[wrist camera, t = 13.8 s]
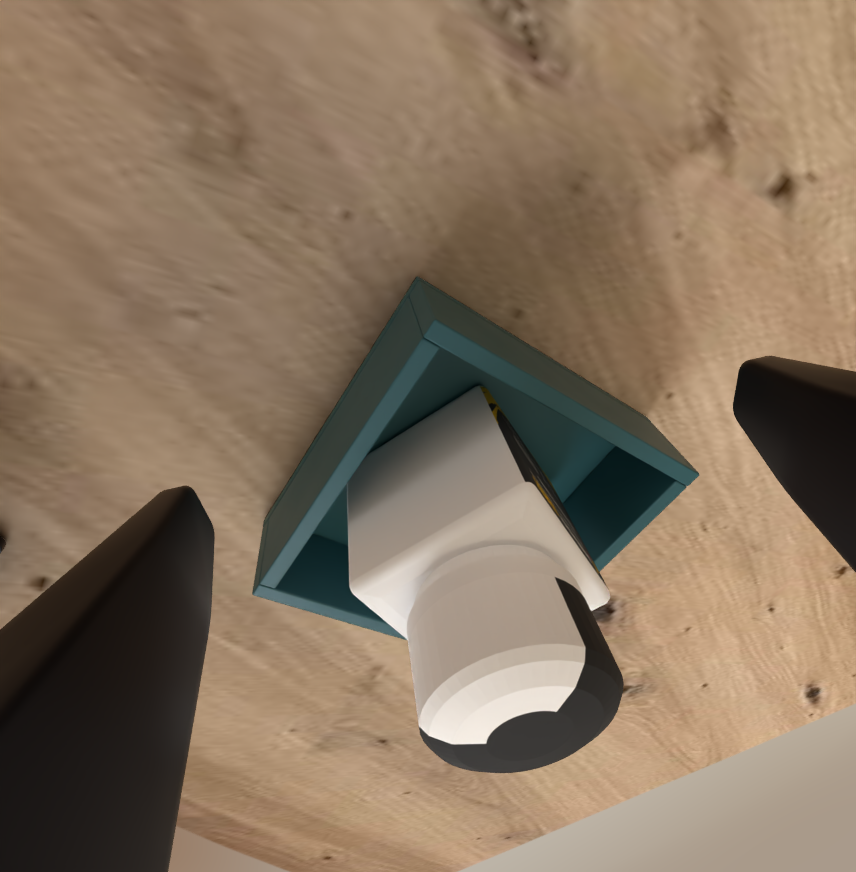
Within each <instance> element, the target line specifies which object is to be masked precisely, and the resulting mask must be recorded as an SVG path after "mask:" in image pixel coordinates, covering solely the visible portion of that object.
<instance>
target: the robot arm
mask: <svg viewBox="0 0 856 872" xmlns="http://www.w3.org/2000/svg"><path fill="white" fill-rule="evenodd" d="M733 411H734V415H735V417H736V419H737V421H738V423H739V424H740V426H741V427H742V429H743V430H744V431H745V433H746V434H747V436H748V437H749V439H750V440H751V442H752V443H753V445H754V446H755V447H756V449H757V450H758V452H759V453H760V455H761V456H762V458H763V459H764V461H765V462H766V464H767V465H768V466H769V468H770V469H771V471H772V472H773V474H774V475H775V477H776V478H777V479H778V481H779V482H780V484H781V485H782V486H783V488H784V489H785V490H786V492H787V493H788V494H789V495H790V496H791V498H792V499H793V500H794V501H795V503H796V504H797V505H798V506H799V507H800V508H801V509H802V511H803V512H804V513H805V514H806V515H807V516H808V518H809V519H810V520H811V521H812V522H813V523H814V525H815V526H816V527H817V528H818V529H819V530H820V532H821V533H822V534H823V535H824V536H825V537H826V539H827V540H828V541H829V542H830V543H831V544H832V545H833V547H834V548H835V549H836V550H837V551H838V552H839V554H840V555H841V556H842V557H843V558H844V559H845V561H846V562H847V563H848V564H849V565H850V566H851V568H852V569H853V570H854V571H855V572H856V372H854V371H849V370H843V369H838V368H833V367H828V366H822V365H817V364H812V363H807V362H801V361H796V360H791V359H786V358H780V357H775V356H765V357H761V358H756V359H752V360H748V361H745V362H744V363H743V364H742V365H741V367H740V369H739V373H738V379H737V385H736V390H735V396H734V402H733ZM5 545H6V541H5V540H4V538H3V537H1V536H0V553H1V552H2V550H3V549H4V547H5ZM213 560H214V529H213V525H212V523H211V521H210V519H209V517H208V515H207V513H206V511H205V510H204V508H203V506H202V504H201V502H200V500H199V498H198V496H197V495H196V493H195V491H194V490H193V489H192V488H191V487H189V486H181V487H177V488H172V489H168V490H164V491H162V492H160V493H159V494H158V495H157V496H156V497H154V498H153V499H152V500H151V501H150V502H149V503H147V504H146V505H145V506H144V507H143V508H142V509H140V510H139V511H138V512H137V513H136V514H135V515H133V516H132V517H131V518H130V519H129V520H128V521H126V522H125V523H124V524H123V525H122V526H121V527H119V528H118V529H117V530H116V531H115V532H114V533H112V534H111V535H110V536H109V537H108V538H107V539H105V540H104V541H103V542H102V543H101V544H100V545H98V546H97V547H96V548H95V549H94V550H93V551H91V552H90V553H89V554H88V555H87V556H86V557H84V558H83V559H82V560H81V561H80V562H79V563H77V564H76V565H75V566H74V567H73V568H72V569H70V570H69V571H68V572H67V573H66V574H65V575H63V576H62V577H61V578H60V579H59V580H58V581H56V582H55V583H54V584H53V585H52V586H51V587H49V588H48V589H47V590H46V591H45V592H44V593H42V594H41V595H40V596H39V597H38V598H37V599H35V600H34V601H33V602H32V603H31V604H30V605H28V606H27V607H26V608H25V609H24V610H23V611H21V612H20V613H19V614H18V615H17V616H16V617H14V618H13V619H12V620H11V621H10V622H9V623H7V624H6V625H5V626H4V627H3V628H2V629H0V872H168V869H169V863H170V857H171V850H172V845H173V839H174V833H175V827H176V822H177V816H178V810H179V804H180V798H181V792H182V786H183V780H184V775H185V769H186V763H187V757H188V751H189V745H190V739H191V734H192V728H193V722H194V716H195V710H196V704H197V698H198V692H199V687H200V681H201V675H202V669H203V663H204V657H205V651H206V645H207V640H208V633H209V626H210V617H211V603H212V581H213Z"/></svg>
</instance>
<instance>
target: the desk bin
mask: <svg viewBox="0 0 856 872" xmlns="http://www.w3.org/2000/svg"><path fill="white" fill-rule="evenodd" d="M478 385H480V386H484V387H485V388H486V389H488V391H489V392H490V394H491V395H492V397H493V398H494V400H495V401H496V403H497V404H498V406H499V407H500V409H501V410H502V412H503V413H504V414H505V416H506V417H507V419H508V420H509V422H510V423H511V425H512V426H513V428H514V429H515V431H516V432H517V434H518V435H519V437H520V438H521V440H522V441H523V442H524V444H525V445H526V447H527V448H528V450H529V451H530V453H531V454H532V456H533V457H534V459H535V460H536V462H537V463H538V465H539V466H540V468H541V469H542V470H543V472H544V473H545V475H546V476H547V478H548V479H549V481H550V482H551V484H552V485H553V487H554V489H555V491H556V493H557V495H558V496H559V498H560V500H561V502H562V504H563V506H564V508H565V509H566V511H567V513H568V515H569V517H570V519H571V521H572V522H573V524H574V526H575V528H576V530H577V532H578V534H579V535H580V537H581V539H582V541H583V543H584V545H585V547H586V548H587V550H588V552H589V554H590V556H591V558H592V560H593V562H594V563H595V565H596V567H597V569H598V571H599V572H600V571H601V570H602V569H603V568H604V567H605V566H606V565H607V564H608V563H609V562H610V561H611V560H612V559H613V558H614V557H615V556H616V555H617V554H618V553H619V552H620V551H621V550H622V549H623V548H624V547H625V546H626V545H628V544H629V543H630V542H631V541H632V540H633V539H634V538H635V537H636V536H637V535H638V534H639V533H640V532H641V531H642V530H643V529H644V528H645V527H646V526H647V525H648V524H649V523H650V522H651V521H652V520H653V519H654V518H655V517H656V516H657V515H659V514H660V513H661V512H662V511H663V510H664V509H665V508H666V507H667V506H668V505H669V504H670V503H671V502H672V501H673V500H674V499H675V498H676V497H677V496H678V495H679V494H680V493H681V492H682V491H683V490H684V489H685V488H686V486H688V485H690V484H691V483H692V482H693V481H694V480H695V479H696V478H697V477H698V476H699V473H698V472H697V471H696V470H695V469H694V468H693V466H692V465H691V464H690V463H689V462H688V461H687V460H686V459H685V458H684V457H683V456H682V455H681V454H680V453H679V451H678V450H677V449H676V448H675V447H674V446H673V445H672V444H671V443H670V442H669V441H668V440H667V439H666V437H665V436H664V435H663V434H662V433H661V432H660V431H659V430H658V429H657V428H656V427H655V426H654V425H653V424H652V423H651V421H650V420H649V419H648V418H647V417H645V416H644V415H642V414H641V413H639V412H637V411H636V410H634V409H632V408H631V407H629V406H628V405H626V404H624V403H623V402H621V401H619V400H618V399H616V398H615V397H613V396H611V395H610V394H608V393H606V392H605V391H603V390H602V389H600V388H598V387H597V386H595V385H593V384H592V383H590V382H589V381H587V380H585V379H584V378H582V377H580V376H579V375H577V374H576V373H574V372H572V371H571V370H569V369H567V368H566V367H564V366H563V365H561V364H559V363H558V362H556V361H554V360H553V359H551V358H550V357H548V356H546V355H545V354H543V353H541V352H540V351H538V350H537V349H535V348H533V347H532V346H530V345H529V344H527V343H525V342H524V341H522V340H520V339H519V338H517V337H516V336H514V335H512V334H511V333H509V332H507V331H506V330H504V329H503V328H501V327H499V326H498V325H496V324H494V323H493V322H491V321H490V320H488V319H486V318H485V317H483V316H481V315H480V314H478V313H477V312H475V311H473V310H472V309H470V308H468V307H467V306H465V305H464V304H462V303H460V302H459V301H457V300H455V299H454V298H452V297H451V296H449V295H447V294H446V293H444V292H442V291H441V290H439V289H438V288H436V287H434V286H433V285H431V284H429V283H428V282H426V281H425V280H423V279H421V278H420V277H416V278H415V280H414V281H413V283H412V285H411V286H410V288H409V289H408V291H407V293H406V294H405V296H404V297H403V299H402V301H401V302H400V304H399V305H398V307H397V309H396V310H395V312H394V313H393V315H392V317H391V318H390V320H389V321H388V323H387V325H386V326H385V328H384V329H383V331H382V333H381V334H380V336H379V337H378V339H377V341H376V342H375V344H374V345H373V347H372V349H371V350H370V352H369V353H368V355H367V357H366V358H365V360H364V361H363V363H362V365H361V366H360V368H359V369H358V371H357V373H356V374H355V376H354V377H353V379H352V381H351V382H350V384H349V385H348V387H347V389H346V390H345V392H344V393H343V395H342V397H341V398H340V400H339V401H338V403H337V405H336V406H335V408H334V409H333V411H332V413H331V414H330V416H329V417H328V419H327V421H326V422H325V424H324V425H323V427H322V429H321V430H320V432H319V433H318V435H317V437H316V438H315V440H314V441H313V443H312V445H311V446H310V448H309V449H308V451H307V453H306V454H305V456H304V457H303V459H302V461H301V462H300V464H299V465H298V467H297V469H296V470H295V472H294V473H293V475H292V477H291V478H290V480H289V481H288V483H287V485H286V486H285V488H284V489H283V491H282V493H281V494H280V496H279V497H278V499H277V501H276V502H275V504H274V505H273V507H272V509H271V510H270V512H269V513H268V515H267V517H266V518H265V520H264V524H263V531H262V537H261V543H260V549H259V556H258V562H257V568H256V574H255V580H254V586H253V592H252V594H253V595H255V596H258V597H261V598H265V599H268V600H272V601H275V602H278V603H282V604H285V605H289V606H292V607H295V608H299V609H302V610H306V611H309V612H313V613H316V614H319V615H323V616H326V617H330V618H333V619H336V620H340V621H343V622H347V623H350V624H353V625H357V626H360V627H364V628H367V629H371V630H374V631H377V632H381V633H384V634H388V635H391V636H394V637H398V638H401V639H405V640H407V639H406V638H405V637H403V636H402V635H401V634H400V633H399V632H397V631H396V630H395V629H394V628H393V627H391V626H390V625H389V624H388V623H387V622H386V621H384V620H383V619H382V618H381V617H380V616H378V615H377V614H376V613H375V612H374V611H372V610H371V609H370V608H369V607H368V606H366V605H365V604H364V603H363V602H362V601H360V600H359V599H358V598H357V597H356V596H354V595H353V593H352V592H351V590H350V587H349V550H348V513H347V483H348V482H349V480H350V479H351V477H352V476H353V474H354V473H355V471H356V470H357V468H358V467H359V466H360V464H361V463H362V461H363V460H364V458H365V457H366V455H368V454H369V453H371V452H373V451H374V450H376V449H377V448H379V447H381V446H382V445H384V444H385V443H387V442H388V441H390V440H392V439H393V438H395V437H396V436H398V435H399V434H401V433H403V432H404V431H406V430H407V429H409V428H411V427H412V426H414V425H415V424H417V423H418V422H420V421H422V420H423V419H425V418H426V417H428V416H430V415H431V414H433V413H434V412H436V411H437V410H439V409H441V408H442V407H444V406H445V405H447V404H448V403H450V402H452V401H453V400H455V399H456V398H458V397H460V396H461V395H463V394H464V393H466V392H467V391H469V390H471V389H472V388H474V387H476V386H478Z"/></svg>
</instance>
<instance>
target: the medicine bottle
mask: <svg viewBox="0 0 856 872" xmlns="http://www.w3.org/2000/svg"><path fill="white" fill-rule="evenodd" d="M347 513H348V550H349V587H350V590H351V592H352V593H353V595H354V596H356V597H357V598H358V599H359V600H360V601H362V602H363V603H364V604H365V605H366V606H368V607H369V608H370V609H371V610H372V611H374V612H375V613H376V614H377V615H378V616H380V617H381V618H382V619H383V620H384V621H386V622H387V623H388V624H389V625H390V626H391V627H393V628H394V629H395V630H396V631H397V632H399V633H400V634H401V635H402V636H403V637H405V638H406V639H407V640H408V645H409V653H410V661H411V669H412V677H413V684H414V692H415V700H416V708H417V715H418V723H419V730H420V735H421V737H422V739H423V741H424V742H425V744H426V745H427V746H428V747H429V748H430V749H431V750H432V751H433V752H434V753H435V754H436V755H438V756H439V757H440V758H441V759H442V760H444V761H445V762H447V763H449V764H451V765H453V766H456V767H459V768H462V769H466V770H470V771H478V772H490V773H513V772H522V771H527V770H532V769H536V768H540V767H543V766H546V765H549V764H552V763H554V762H557V761H559V760H561V759H563V758H566V757H568V756H569V755H571V754H573V753H575V752H576V751H578V750H579V749H581V748H582V747H583V746H585V745H586V744H588V743H589V742H590V741H592V740H593V739H594V738H596V737H597V736H598V735H599V734H600V733H601V732H602V731H603V730H604V729H605V728H606V727H607V726H608V725H609V724H610V722H611V721H612V720H613V718H614V716H615V714H616V712H617V710H618V707H619V704H620V700H621V697H622V693H623V677H622V674H621V672H620V670H619V668H618V666H617V664H616V662H615V659H614V657H613V655H612V653H611V651H610V649H609V647H608V645H607V643H606V641H605V639H604V637H603V635H602V633H601V630H600V628H599V626H598V624H597V622H596V620H595V618H594V616H593V614H592V612H591V611H593V610H595V609H597V608H598V607H600V606H602V605H604V604H606V603H607V602H608V600H609V599H610V593H609V589H608V588H607V586H606V584H605V582H604V580H603V578H602V576H601V575H600V573H599V571H598V569H597V567H596V565H595V563H594V562H593V560H592V558H591V556H590V554H589V552H588V550H587V548H586V547H585V545H584V543H583V541H582V539H581V537H580V535H579V534H578V532H577V530H576V528H575V526H574V524H573V522H572V521H571V519H570V517H569V515H568V513H567V511H566V509H565V508H564V506H563V504H562V502H561V500H560V498H559V496H558V495H557V493H556V491H555V489H554V487H553V485H552V484H551V482H550V481H549V479H548V478H547V476H546V475H545V473H544V472H543V470H542V469H541V468H540V466H539V465H538V463H537V462H536V460H535V459H534V457H533V456H532V454H531V453H530V451H529V450H528V448H527V447H526V445H525V444H524V442H523V441H522V440H521V438H520V437H519V435H518V434H517V432H516V431H515V429H514V428H513V426H512V425H511V423H510V422H509V420H508V419H507V417H506V416H505V414H504V413H503V412H502V410H501V409H500V407H499V406H498V404H497V403H496V401H495V400H494V398H493V397H492V395H491V394H490V392H489V391H488V389H486V388H485V387H484V386H480V385H478V386H476V387H474V388H472V389H471V390H469V391H467V392H466V393H464V394H463V395H461V396H460V397H458V398H456V399H455V400H453V401H452V402H450V403H448V404H447V405H445V406H444V407H442V408H441V409H439V410H437V411H436V412H434V413H433V414H431V415H430V416H428V417H426V418H425V419H423V420H422V421H420V422H418V423H417V424H415V425H414V426H412V427H411V428H409V429H407V430H406V431H404V432H403V433H401V434H399V435H398V436H396V437H395V438H393V439H392V440H390V441H388V442H387V443H385V444H384V445H382V446H381V447H379V448H377V449H376V450H374V451H373V452H371V453H369V454H368V455H366V457H365V458H364V460H363V461H362V463H361V464H360V466H359V467H358V468H357V470H356V471H355V473H354V474H353V476H352V477H351V479H350V480H349V482H348V483H347Z"/></svg>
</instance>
